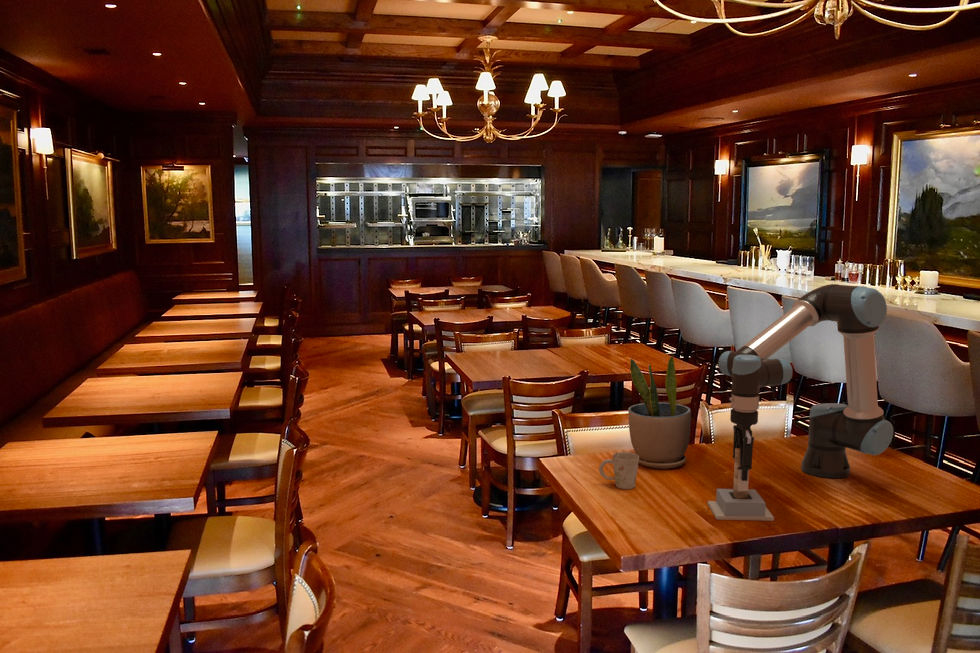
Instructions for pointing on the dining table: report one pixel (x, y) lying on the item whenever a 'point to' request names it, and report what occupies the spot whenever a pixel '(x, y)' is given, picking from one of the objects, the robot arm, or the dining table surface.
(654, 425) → the potted plant
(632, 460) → the mug
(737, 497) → the peg
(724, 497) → the socket
